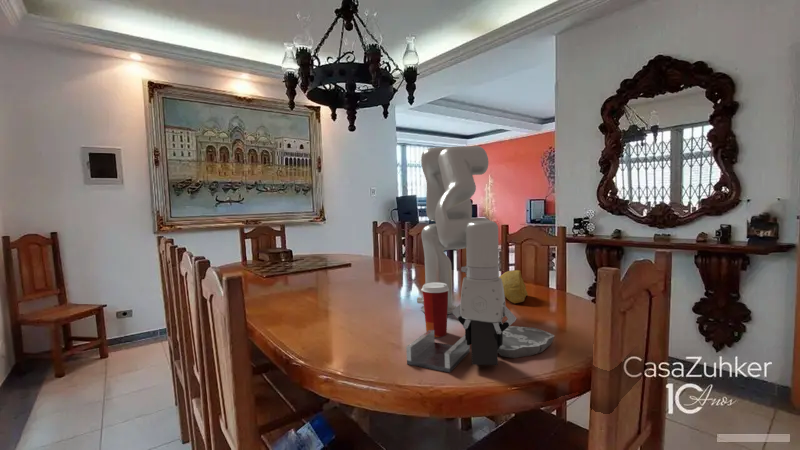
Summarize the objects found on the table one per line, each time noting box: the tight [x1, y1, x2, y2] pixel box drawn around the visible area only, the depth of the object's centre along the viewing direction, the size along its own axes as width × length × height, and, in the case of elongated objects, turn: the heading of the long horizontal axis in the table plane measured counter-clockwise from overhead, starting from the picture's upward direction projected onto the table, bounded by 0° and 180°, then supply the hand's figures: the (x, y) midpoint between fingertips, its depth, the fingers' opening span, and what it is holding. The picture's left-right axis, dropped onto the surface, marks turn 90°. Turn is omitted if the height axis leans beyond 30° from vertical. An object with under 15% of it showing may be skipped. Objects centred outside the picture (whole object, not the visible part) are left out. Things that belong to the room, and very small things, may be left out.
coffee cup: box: [420, 282, 449, 338], centre depth 119 cm, size 8×8×15 cm
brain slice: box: [497, 325, 555, 359], centre depth 107 cm, size 20×17×3 cm
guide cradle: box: [406, 329, 471, 374], centre depth 101 cm, size 11×14×4 cm
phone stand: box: [470, 320, 499, 366], centre depth 95 cm, size 9×6×12 cm, turn 170°
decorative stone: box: [499, 269, 529, 305], centre depth 155 cm, size 13×15×15 cm
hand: (483, 344), depth 96 cm, fingers closed on phone stand, 6 cm apart
